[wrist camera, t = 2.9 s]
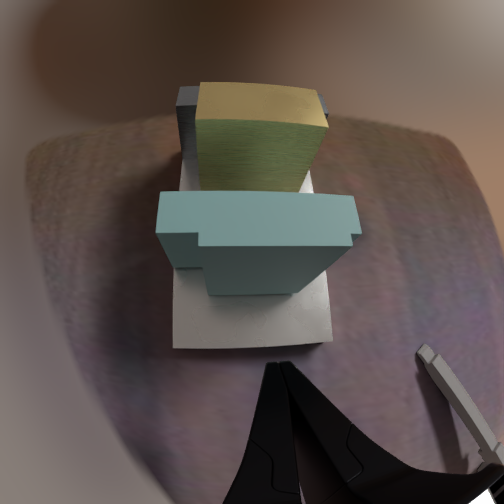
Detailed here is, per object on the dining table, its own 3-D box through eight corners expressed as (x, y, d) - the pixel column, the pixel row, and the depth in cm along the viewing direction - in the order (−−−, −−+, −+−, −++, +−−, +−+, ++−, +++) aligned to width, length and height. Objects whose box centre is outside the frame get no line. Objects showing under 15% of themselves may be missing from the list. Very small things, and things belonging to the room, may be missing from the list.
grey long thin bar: (484, 470, 13) (525, 476, 7) (479, 477, 12) (519, 485, 6) (421, 343, 17) (481, 332, 11) (413, 353, 17) (474, 345, 11)
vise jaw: (329, 291, 16) (399, 246, 9) (172, 295, 15) (134, 246, 8) (322, 235, 17) (376, 165, 10) (174, 235, 16) (149, 155, 9)
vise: (323, 342, 16) (376, 333, 10) (177, 348, 15) (150, 345, 9) (298, 150, 22) (320, 90, 16) (187, 147, 21) (181, 82, 15)
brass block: (294, 202, 18) (328, 127, 11) (201, 201, 17) (195, 119, 11) (288, 166, 19) (315, 90, 13) (203, 164, 18) (200, 82, 12)
